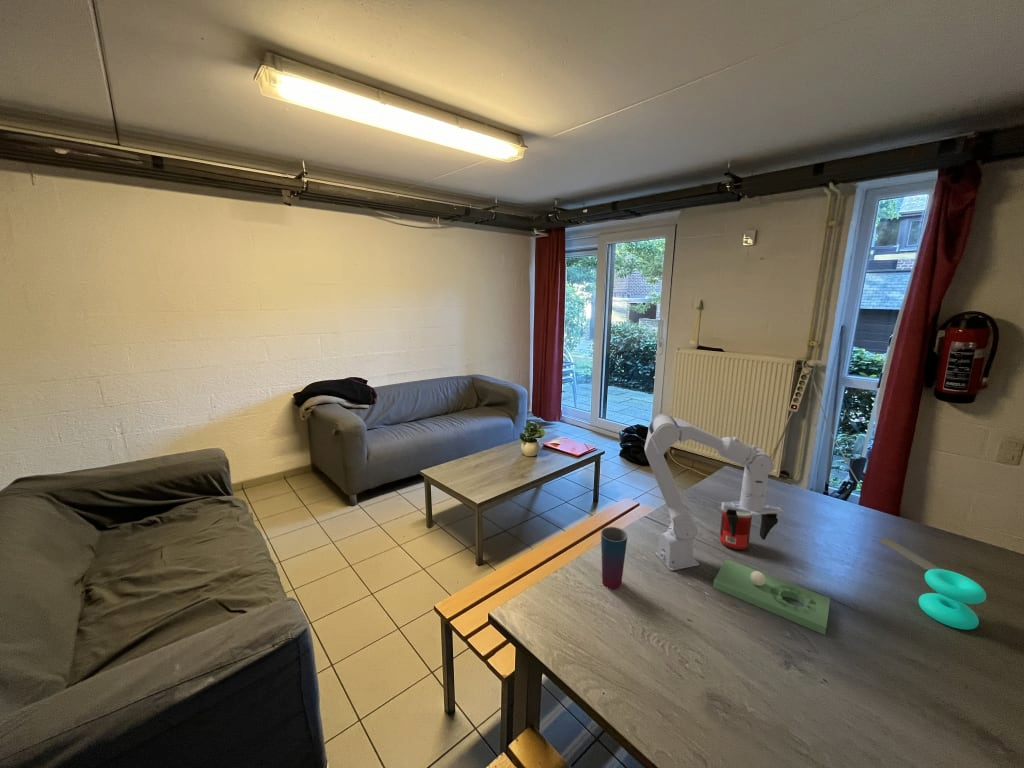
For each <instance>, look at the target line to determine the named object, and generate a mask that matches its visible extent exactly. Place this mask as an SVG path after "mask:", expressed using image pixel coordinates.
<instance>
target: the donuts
mask: <svg viewBox="0 0 1024 768" xmlns="http://www.w3.org/2000/svg"><path fill="white" fill-rule="evenodd" d="M924 580H925V582H926V584H927V585H928V586H929V587H930V588H931V589H932V590H933V591H935V592H936V593H935V592H927V593H924V594H921V595H920V596H919V598H918V605H919V607H920V608H921V610H922V611H923V612H924V613H925V614H926V615H928V616H929V617H930V618H932V619H933V620H935V621H937V622H940V623H941V624H943V625H946V626H948V627H951V628H955V629H959V630H966V631H967V630H974V629H976V628H977V627H978V626H979V625H980V624H979V623H980V620H979V617H978V615H977V614H976V613H975V611H974V610H973V609H971V607H969V606H968V605H966V604H969V605H974V604H975V605H977V604H982V603H983V602H984V601H986V599H987V592H986V591H985V589H984V588H983V587H982V586H981V585H980V584H979V583H977V581H975V580H973V579H971V578H969V577H967V576H965V575H963V574H960V573H958V572H955V571H952V570H947V569H943V568H941V569H931V570H928V571H927V570H926V572H925V573H924Z"/></svg>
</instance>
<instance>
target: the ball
mask: <svg viewBox="0 0 1024 768" xmlns="http://www.w3.org/2000/svg"><path fill="white" fill-rule="evenodd" d="M762 573H763V572H762ZM762 573H761V571H759V570H756V571H754V572H752V573H751V575H750V579H751V581H752V582H753V583H754V584H755V585H757V586H762V585H764V584H765V582H766V578H765V576H764V575H763V574H762Z"/></svg>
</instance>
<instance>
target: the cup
mask: <svg viewBox="0 0 1024 768" xmlns="http://www.w3.org/2000/svg"><path fill="white" fill-rule="evenodd" d="M600 537H601V538H600V540H601V541H600V542H601V546H600V547H601V582H602V583H601V584H602V585H603V586H604V588H607V587H608V588H607V589H609V588H611V589H610V590H618V589H620V588H621V587H620V586H622V580H623V573H624V564H625V560H626V559H625V558H626V550H627V545H628V543H627V542H628V533H627V532H626V531H625V530H624V529H622V528H620V527H616V526H607V527H605V528H603V529H601V531H600ZM617 588H618V589H617Z"/></svg>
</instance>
